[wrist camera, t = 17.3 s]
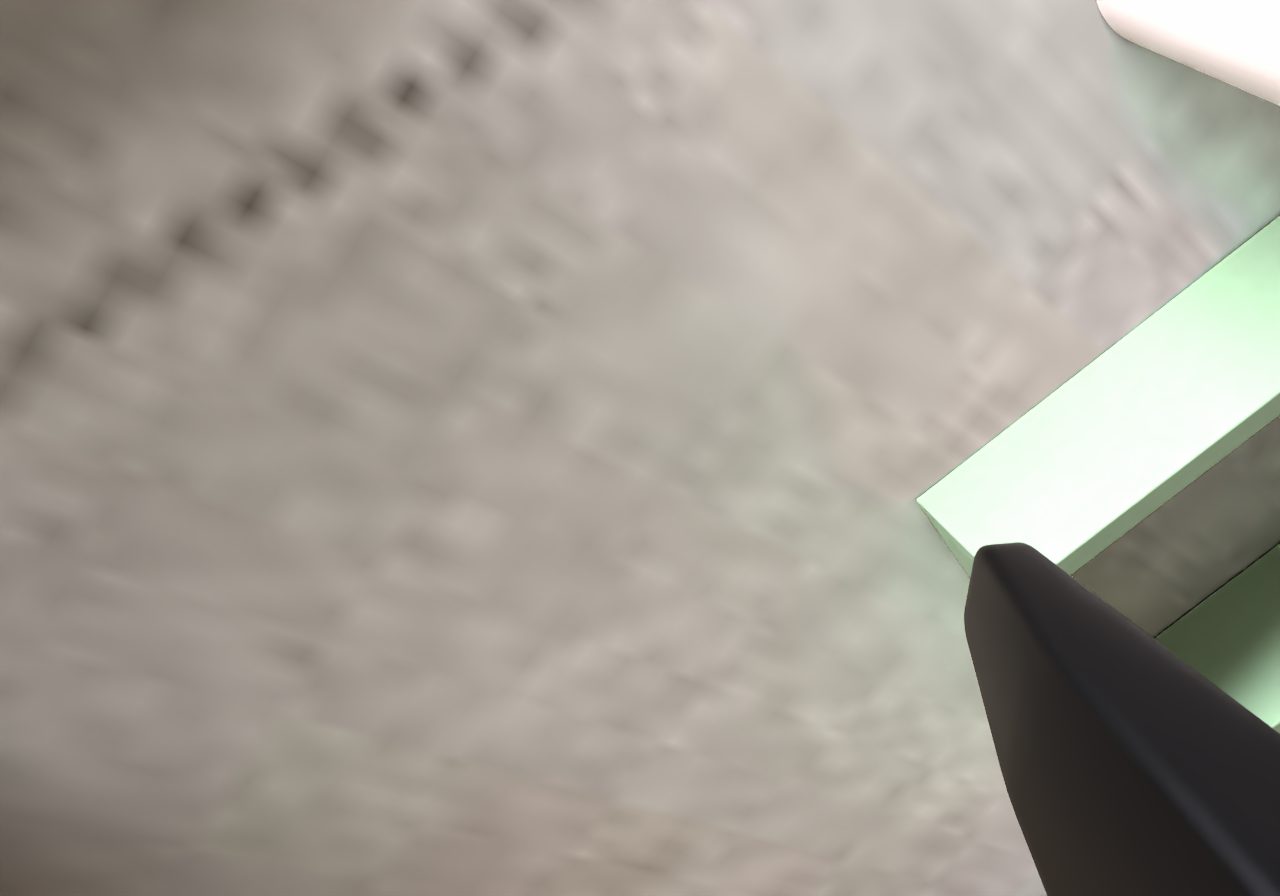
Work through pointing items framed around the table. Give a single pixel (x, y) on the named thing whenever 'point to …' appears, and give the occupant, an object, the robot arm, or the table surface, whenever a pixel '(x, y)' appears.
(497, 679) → the table surface
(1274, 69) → the smoothie
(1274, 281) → the green open tray
